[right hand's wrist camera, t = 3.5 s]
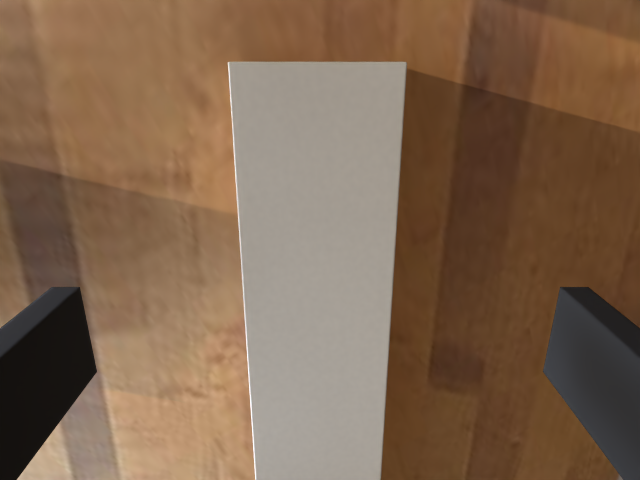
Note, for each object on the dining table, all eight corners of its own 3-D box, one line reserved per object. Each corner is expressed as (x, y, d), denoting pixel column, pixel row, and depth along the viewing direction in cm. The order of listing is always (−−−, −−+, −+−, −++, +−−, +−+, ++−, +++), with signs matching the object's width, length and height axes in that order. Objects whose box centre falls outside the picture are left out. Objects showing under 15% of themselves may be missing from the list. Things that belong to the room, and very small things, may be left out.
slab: (246, 63, 32) (227, 61, 25) (388, 63, 32) (407, 61, 25) (275, 618, 53) (269, 696, 47) (361, 617, 54) (367, 696, 47)
